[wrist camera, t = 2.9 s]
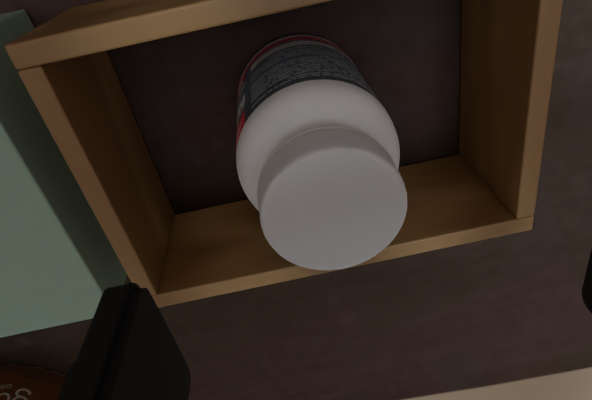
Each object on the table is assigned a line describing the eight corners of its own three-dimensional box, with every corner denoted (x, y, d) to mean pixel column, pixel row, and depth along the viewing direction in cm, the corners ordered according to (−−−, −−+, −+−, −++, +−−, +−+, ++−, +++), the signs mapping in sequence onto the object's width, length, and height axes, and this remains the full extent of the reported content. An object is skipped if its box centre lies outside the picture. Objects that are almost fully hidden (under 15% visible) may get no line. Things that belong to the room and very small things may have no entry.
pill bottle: (217, 58, 18) (199, 161, 11) (342, 13, 18) (414, 88, 10) (262, 166, 21) (273, 307, 13) (370, 130, 20) (443, 256, 13)
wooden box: (166, 228, 22) (146, 311, 18) (69, 8, 16) (1, 45, 12) (472, 163, 22) (532, 230, 17) (481, -85, 16) (575, -82, 12)
